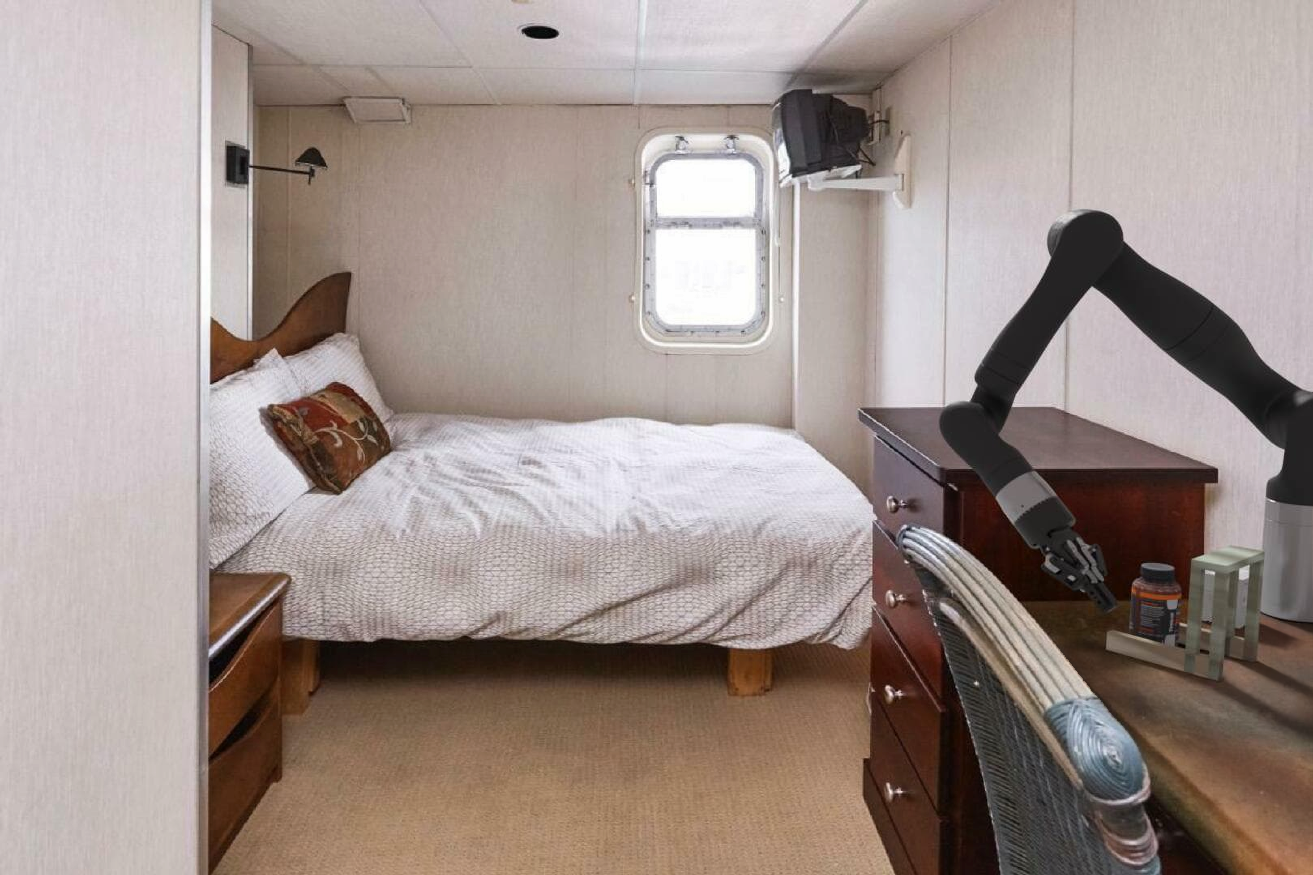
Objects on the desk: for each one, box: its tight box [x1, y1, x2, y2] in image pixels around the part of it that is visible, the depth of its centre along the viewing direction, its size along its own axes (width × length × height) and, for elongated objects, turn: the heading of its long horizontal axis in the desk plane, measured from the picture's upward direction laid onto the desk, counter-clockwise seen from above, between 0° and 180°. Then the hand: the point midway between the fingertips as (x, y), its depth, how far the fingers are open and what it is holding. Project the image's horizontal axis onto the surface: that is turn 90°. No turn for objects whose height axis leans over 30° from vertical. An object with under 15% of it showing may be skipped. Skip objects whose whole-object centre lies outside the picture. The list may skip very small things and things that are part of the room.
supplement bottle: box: [1128, 562, 1183, 647], centre depth 127 cm, size 6×6×11 cm
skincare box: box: [1202, 568, 1249, 629], centre depth 138 cm, size 6×6×7 cm
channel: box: [1105, 545, 1265, 682], centre depth 124 cm, size 11×14×14 cm
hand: (1111, 609), depth 132 cm, fingers closed
